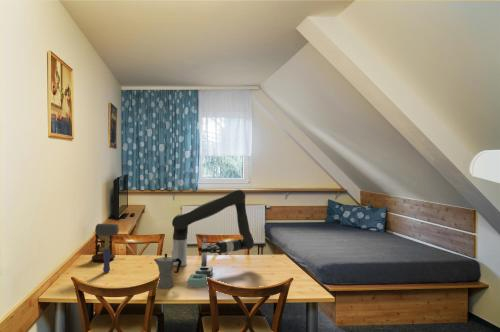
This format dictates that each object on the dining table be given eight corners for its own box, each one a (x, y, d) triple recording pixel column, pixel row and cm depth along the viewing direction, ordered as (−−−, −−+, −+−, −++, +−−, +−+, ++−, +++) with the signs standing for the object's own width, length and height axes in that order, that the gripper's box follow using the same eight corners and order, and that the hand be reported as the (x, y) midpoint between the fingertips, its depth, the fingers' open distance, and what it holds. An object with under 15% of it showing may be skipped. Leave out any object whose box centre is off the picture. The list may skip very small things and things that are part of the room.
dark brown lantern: (117, 256, 255) (118, 228, 254) (111, 262, 240) (111, 233, 239) (96, 256, 254) (96, 228, 253) (88, 262, 239) (88, 232, 239)
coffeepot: (151, 288, 195) (151, 255, 195) (155, 282, 205) (156, 251, 204) (179, 289, 195) (180, 256, 195) (182, 283, 205) (183, 251, 204)
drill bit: (200, 266, 217) (201, 238, 217) (201, 265, 221) (202, 237, 220) (206, 266, 217) (206, 238, 217) (206, 265, 221) (207, 237, 220)
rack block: (187, 286, 200) (187, 279, 200) (191, 280, 209) (191, 274, 209) (204, 287, 199) (204, 280, 199) (207, 281, 209) (207, 274, 208)
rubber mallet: (118, 270, 225) (119, 222, 224) (115, 274, 218) (115, 224, 217) (98, 270, 224) (99, 222, 224) (93, 274, 217) (94, 224, 216)
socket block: (195, 277, 215) (195, 270, 215) (198, 272, 224) (198, 266, 224) (210, 278, 214) (210, 271, 214) (212, 273, 223) (212, 266, 223)
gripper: (219, 238, 233) (195, 241, 223) (230, 243, 221) (205, 246, 211) (219, 250, 233) (194, 253, 223) (230, 255, 221) (205, 259, 211)
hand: (200, 250), depth 217 cm, fingers closed on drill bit, 3 cm apart
